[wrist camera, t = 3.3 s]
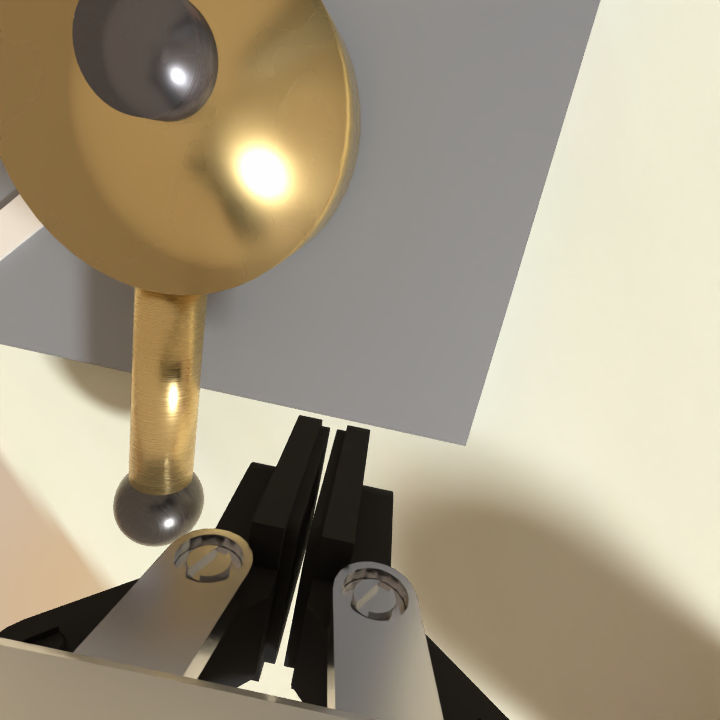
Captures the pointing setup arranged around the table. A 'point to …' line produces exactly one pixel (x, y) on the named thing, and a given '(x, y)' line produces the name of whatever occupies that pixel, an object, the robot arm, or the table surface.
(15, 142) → the gold pan with handle
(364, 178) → the stand
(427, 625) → the table surface
